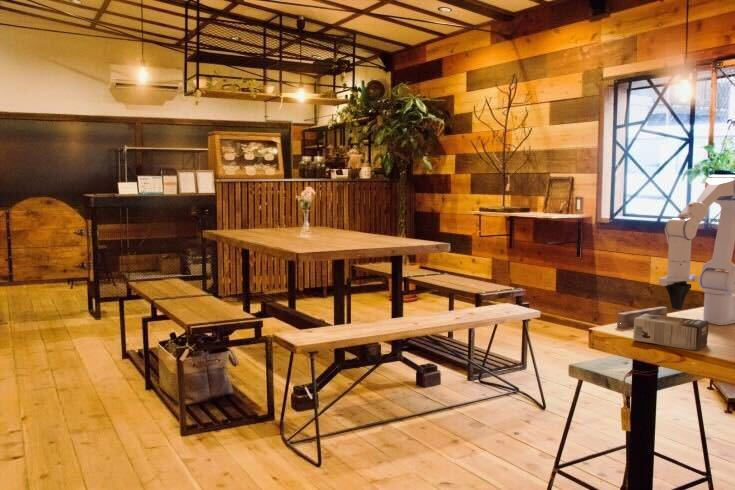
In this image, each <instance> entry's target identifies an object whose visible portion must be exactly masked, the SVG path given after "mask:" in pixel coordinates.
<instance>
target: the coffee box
mask: <svg viewBox="0 0 735 490" xmlns="http://www.w3.org/2000/svg"><path fill="white" fill-rule="evenodd" d="M709 325H710V323H709V321H702V320H697V319H692V318H685V317H677V316H676V317H675V316H668V315H667V316H661V315H653V314H643V315H641V316H639V317H636V318H634V326H633V338H632V339H633V340H632V341H634V342H640V343H648V344H652V345H653V344H654V345H659V346H665V347H669V348H670V347H671V348H677V349H678V348H679V349H684V350H689V351H690V350H691V351H695V352H698V351H700V350H701V349H703V348H704V347H705V346H707V345H708V336H709Z"/></svg>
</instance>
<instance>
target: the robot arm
mask: <svg viewBox="0 0 735 490" xmlns="http://www.w3.org/2000/svg"><path fill="white" fill-rule="evenodd" d="M713 203H715V204H718V205H719V206H720V214H719V219H718V225H717V226H718V227H717V231H716V236H715V242H714V247H713V252H712V257H711V259H710V260H708V261H707V262H705V263H704V264H702V268H701V271H700V273H699V275H697V274H693V273H692V274H691V257H692V256H691V255H692V240H693V239H694V238H695V237H696V235H697V233H698V229H699V226H700V224H701V222H702V221H703V220H704V219H705V218H706V217H707V215H708V209H709V207H710V206H711V205H712V204H713ZM664 234H665V236H666V243H667V245H668V251H667V253H668V255H667V271H666V272H667V275H665V276H663V277H659V278H658V286H663V287H664V288H665V289H666V291H667V293H668V296H669V300H670V304H671V308H672V309H675V310H682V308H683V306H684V305H683V304H684V302H685V300H686V297H687V295H688V293H689V291H690V290H691V289H692V284H691V282H692V283H693V282H694V283H695V282H696V283H697V281H698V286H699V287H700V288H701V289H702V292H703V293H704V300H703V313H702V314H703V316H702V317H701V318H697V319H696V320H702V321H709V324H713V325H717V326H726V325H731V324H735V264H734V262H732V261H733V260H732V259H733V253H734V249H735V174H710V175H708V177H707V179H706V180H705V183H704V190H703V191H702V192H701V194H700V195H699V197H698V198H697V199H696V201H689V203H688V204H687V205H686V206H685V207H684V208H683V209H682V210H681V211H680V212H679V214H678V215H677V216H676V217H671V218H670V219H669V220H667V222H666V223H665V227H664Z"/></svg>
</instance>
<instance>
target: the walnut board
mask: <svg viewBox="0 0 735 490" xmlns="http://www.w3.org/2000/svg"><path fill="white" fill-rule="evenodd" d="M643 314H653V315H661V316H668V307H666V306H657V307H656V306H655V307H649V308H643V309H635V310H631V311H623V312H618V313H617V319H616V320H617V321H616V327H617V328H621V329H627V328H631V327H634V318H636V317H639V316H641V315H643ZM620 323H621V324H620ZM626 327H627V328H626Z"/></svg>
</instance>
